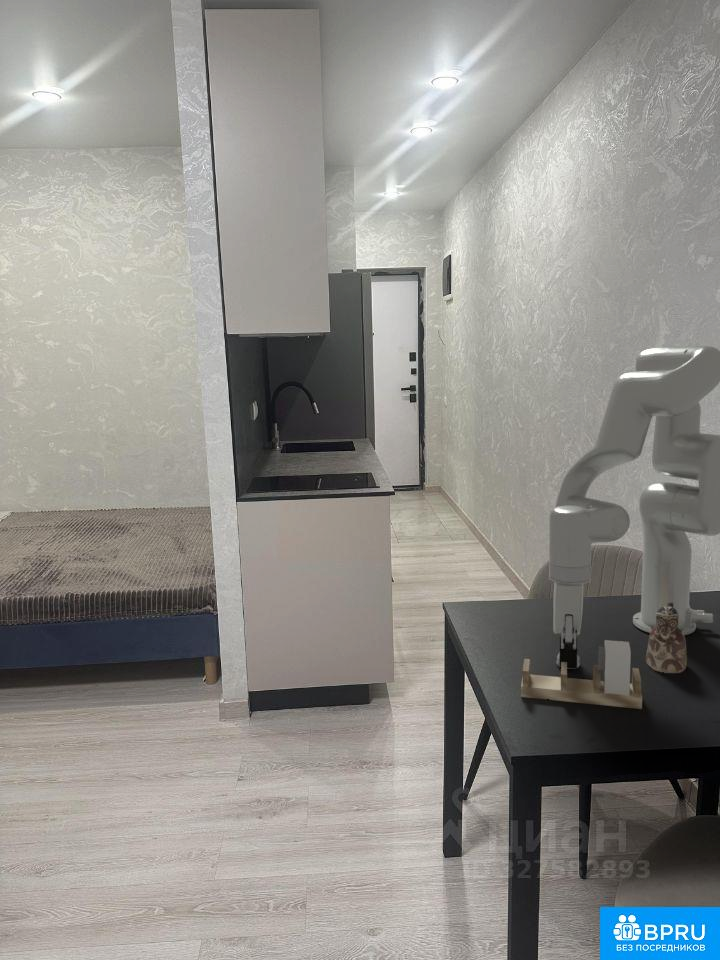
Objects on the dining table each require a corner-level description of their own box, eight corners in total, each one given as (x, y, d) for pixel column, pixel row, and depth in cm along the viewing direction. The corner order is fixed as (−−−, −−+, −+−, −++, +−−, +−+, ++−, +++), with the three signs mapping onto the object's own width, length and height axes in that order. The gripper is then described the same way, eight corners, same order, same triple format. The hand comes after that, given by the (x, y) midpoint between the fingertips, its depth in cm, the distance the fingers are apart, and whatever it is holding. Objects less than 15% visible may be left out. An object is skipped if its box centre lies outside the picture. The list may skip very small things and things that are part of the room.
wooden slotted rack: (639, 695, 122) (639, 668, 121) (641, 709, 118) (642, 681, 117) (522, 683, 128) (522, 658, 127) (521, 696, 123) (521, 670, 122)
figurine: (640, 666, 133) (642, 607, 131) (653, 653, 138) (655, 596, 136) (679, 676, 128) (682, 615, 126) (691, 663, 134) (694, 603, 131)
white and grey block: (627, 684, 122) (628, 641, 121) (629, 695, 118) (630, 651, 117) (597, 681, 124) (598, 639, 122) (598, 692, 120) (599, 649, 118)
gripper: (550, 557, 140) (549, 642, 144) (547, 584, 124) (546, 679, 128) (589, 559, 138) (587, 645, 141) (591, 587, 122) (589, 683, 126)
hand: (568, 660), depth 135 cm, fingers closed on rook chess piece, 4 cm apart
